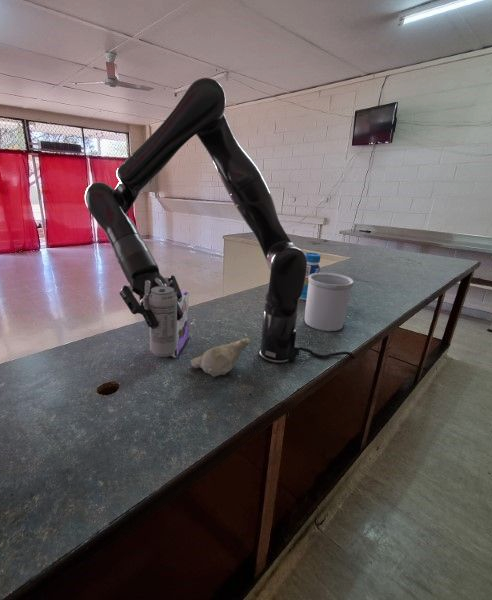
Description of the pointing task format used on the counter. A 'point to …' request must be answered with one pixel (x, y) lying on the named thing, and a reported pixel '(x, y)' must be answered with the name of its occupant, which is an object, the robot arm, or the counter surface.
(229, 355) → the beige lumpy piece
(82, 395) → the counter surface
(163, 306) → the energy drink can
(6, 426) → the counter surface
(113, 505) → the counter surface
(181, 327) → the candy box
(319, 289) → the utensil holder
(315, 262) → the beverage bottle
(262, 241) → the robot arm
